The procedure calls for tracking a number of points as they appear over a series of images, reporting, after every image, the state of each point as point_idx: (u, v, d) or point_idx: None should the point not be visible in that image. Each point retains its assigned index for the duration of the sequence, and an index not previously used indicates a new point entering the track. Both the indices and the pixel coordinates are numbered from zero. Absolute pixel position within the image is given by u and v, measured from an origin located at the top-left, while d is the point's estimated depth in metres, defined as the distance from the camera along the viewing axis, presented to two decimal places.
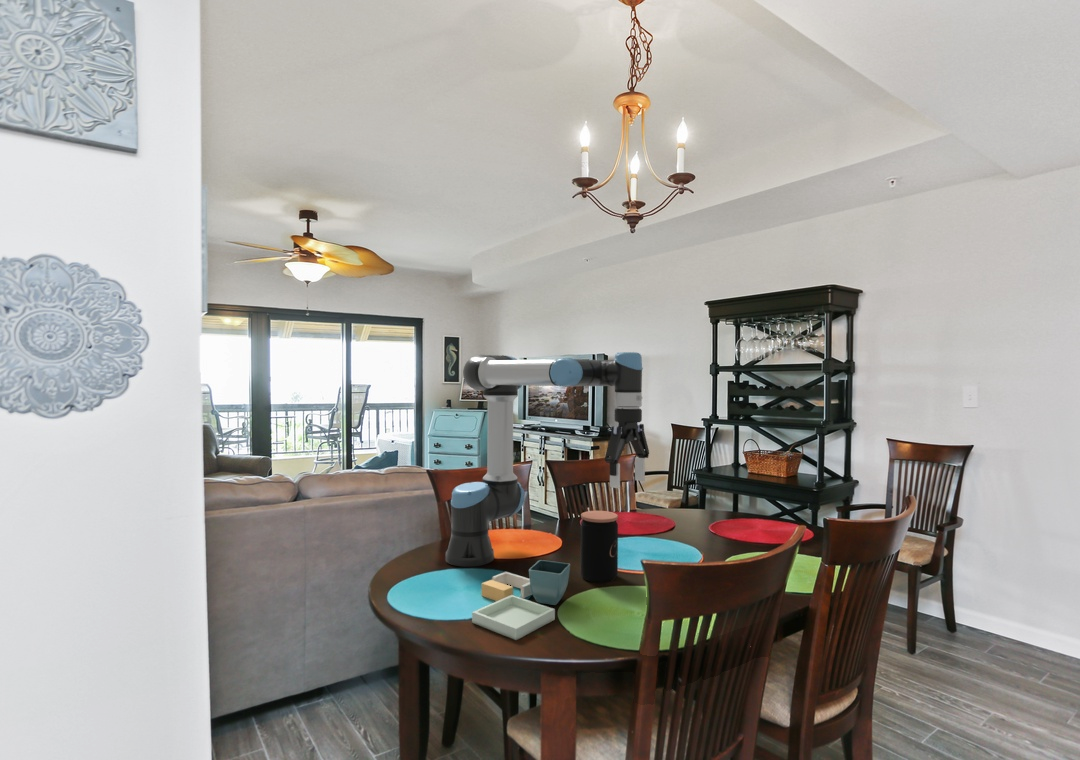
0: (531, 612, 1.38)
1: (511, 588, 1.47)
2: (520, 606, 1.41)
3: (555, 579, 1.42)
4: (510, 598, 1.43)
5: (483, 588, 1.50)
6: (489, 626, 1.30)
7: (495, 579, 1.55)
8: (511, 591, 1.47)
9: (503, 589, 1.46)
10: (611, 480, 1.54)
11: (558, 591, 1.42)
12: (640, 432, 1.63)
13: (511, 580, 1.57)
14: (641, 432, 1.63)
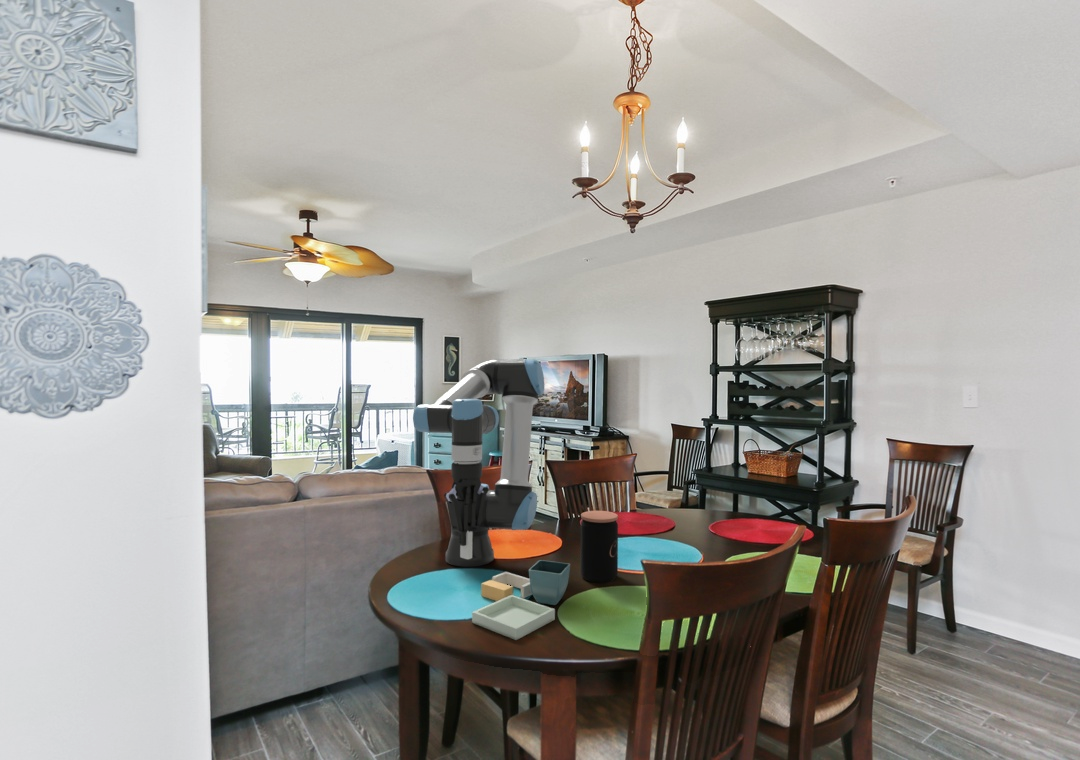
0: (531, 612, 1.38)
1: (511, 588, 1.47)
2: (520, 606, 1.41)
3: (555, 579, 1.42)
4: (510, 598, 1.43)
5: (483, 589, 1.49)
6: (489, 626, 1.30)
7: (495, 579, 1.55)
8: (511, 591, 1.47)
9: (504, 589, 1.46)
10: (461, 550, 1.40)
11: (558, 591, 1.42)
12: (480, 494, 1.43)
13: (511, 580, 1.57)
14: (481, 495, 1.43)
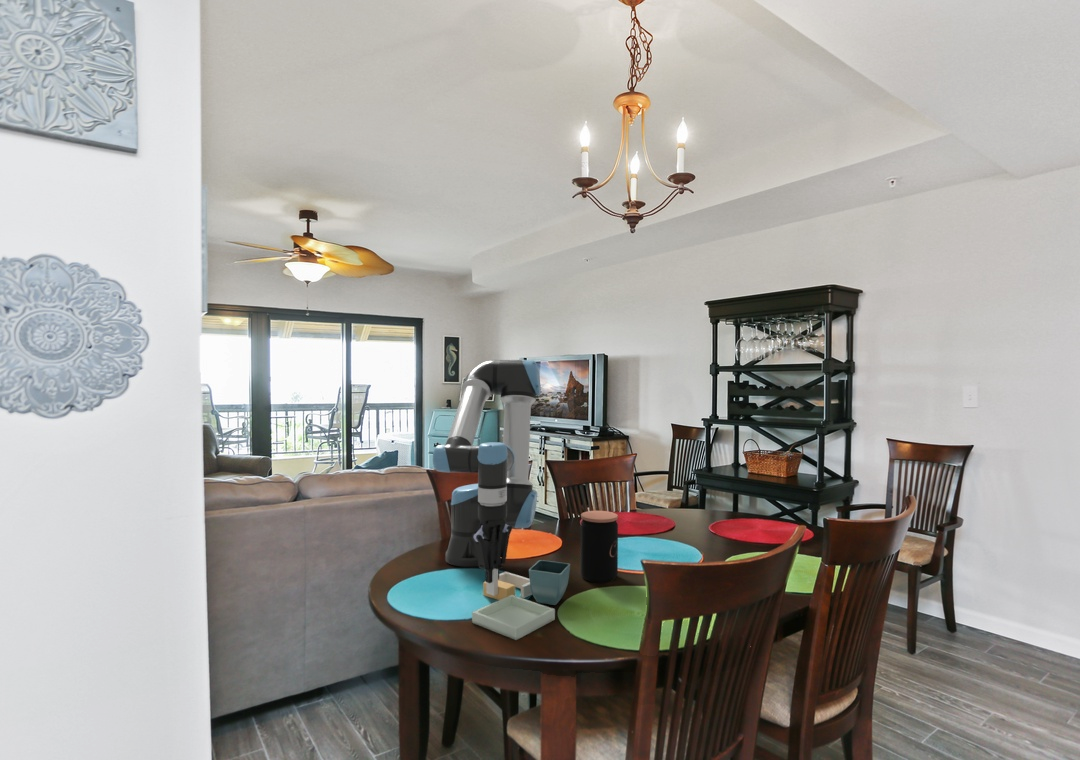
0: (531, 612, 1.38)
1: (513, 586, 1.48)
2: (520, 606, 1.41)
3: (555, 579, 1.42)
4: (510, 598, 1.43)
5: (485, 587, 1.50)
6: (489, 626, 1.30)
7: None
8: (513, 589, 1.48)
9: (506, 588, 1.46)
10: (488, 586, 1.47)
11: (558, 591, 1.42)
12: (505, 533, 1.50)
13: (511, 580, 1.57)
14: (506, 533, 1.50)
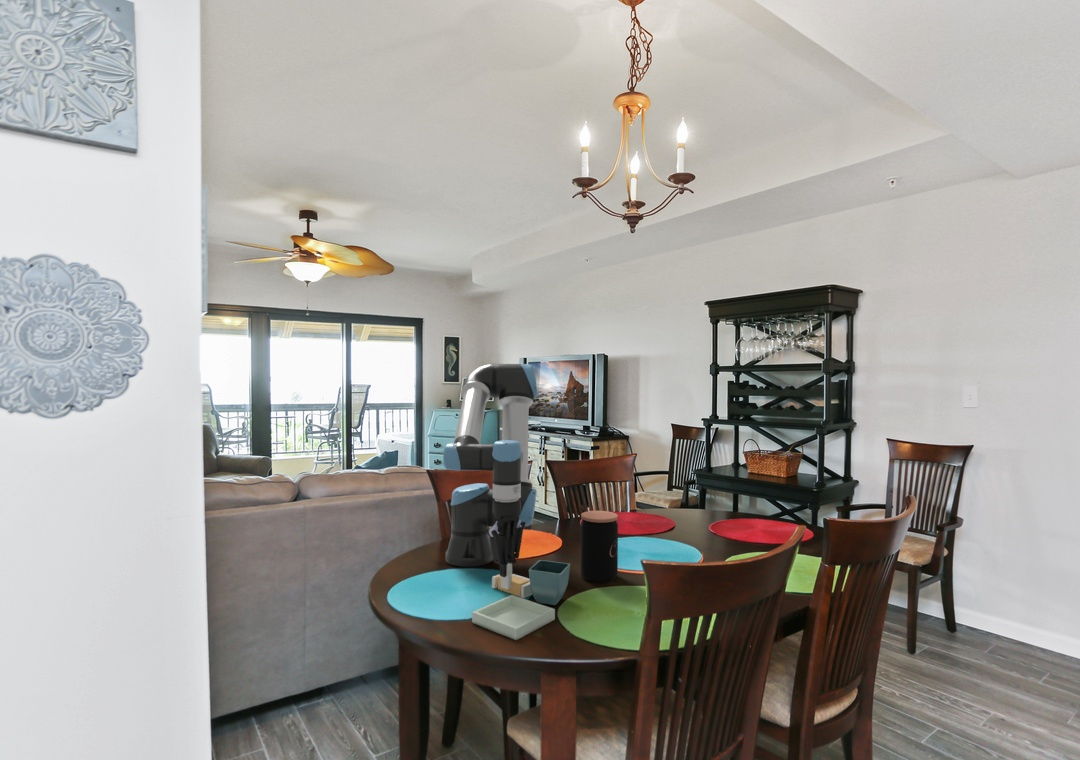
0: (531, 612, 1.38)
1: (527, 582, 1.52)
2: (520, 606, 1.41)
3: (555, 579, 1.42)
4: (510, 598, 1.43)
5: (499, 582, 1.54)
6: (489, 626, 1.30)
7: (495, 579, 1.55)
8: None
9: (519, 583, 1.50)
10: (502, 580, 1.52)
11: (558, 591, 1.42)
12: (518, 529, 1.54)
13: None
14: (519, 529, 1.54)
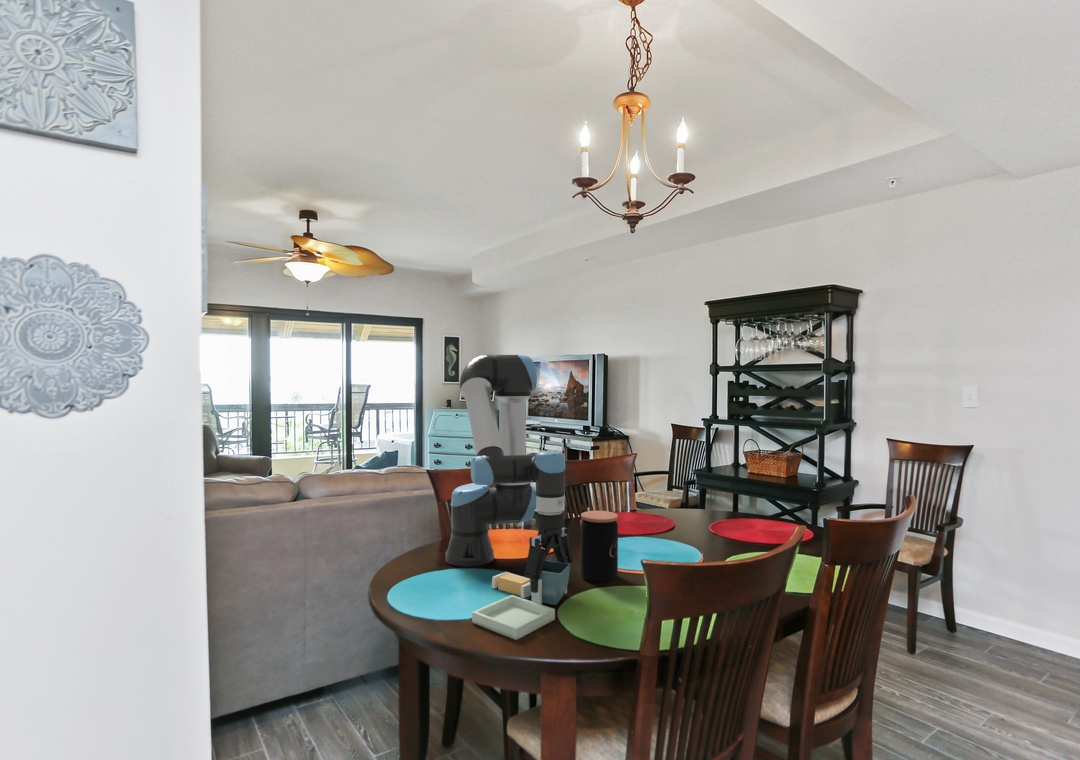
0: (531, 612, 1.38)
1: (528, 581, 1.52)
2: (520, 606, 1.41)
3: (555, 579, 1.42)
4: (510, 598, 1.43)
5: (500, 582, 1.54)
6: (489, 626, 1.30)
7: (495, 579, 1.55)
8: None
9: (521, 582, 1.51)
10: (533, 596, 1.43)
11: (558, 591, 1.42)
12: (564, 537, 1.50)
13: None
14: (565, 537, 1.50)
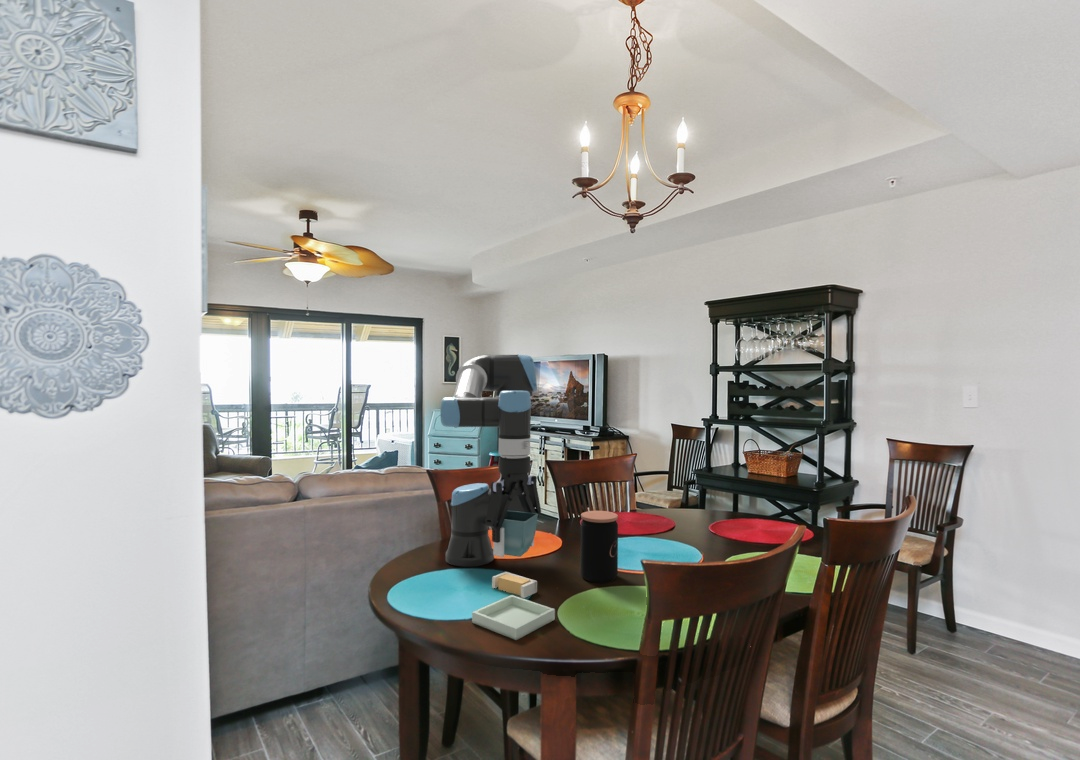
0: (531, 612, 1.38)
1: (528, 581, 1.52)
2: (520, 606, 1.41)
3: (519, 528, 1.29)
4: (510, 598, 1.43)
5: (500, 582, 1.54)
6: (489, 626, 1.30)
7: (495, 579, 1.55)
8: None
9: (522, 582, 1.51)
10: (495, 547, 1.30)
11: (522, 541, 1.30)
12: (531, 485, 1.38)
13: None
14: (532, 485, 1.38)
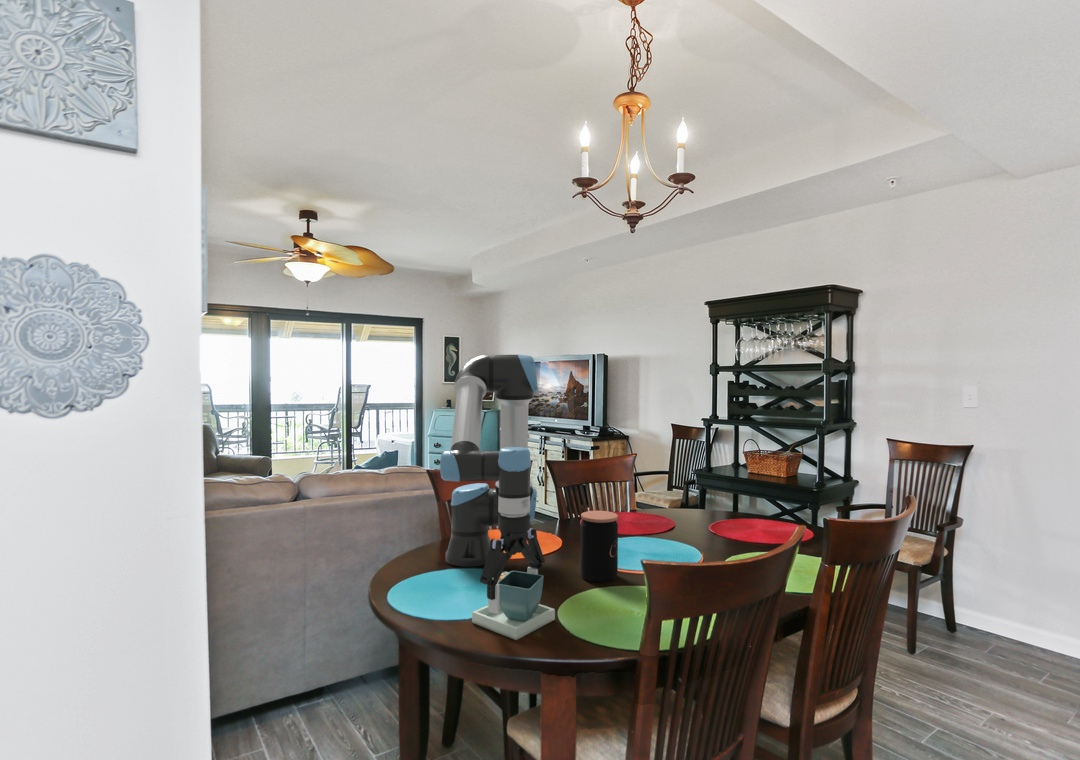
0: None
1: None
2: None
3: (524, 595, 1.30)
4: None
5: None
6: (489, 626, 1.30)
7: None
8: None
9: None
10: (490, 603, 1.29)
11: (527, 607, 1.31)
12: (532, 539, 1.38)
13: None
14: (533, 539, 1.38)
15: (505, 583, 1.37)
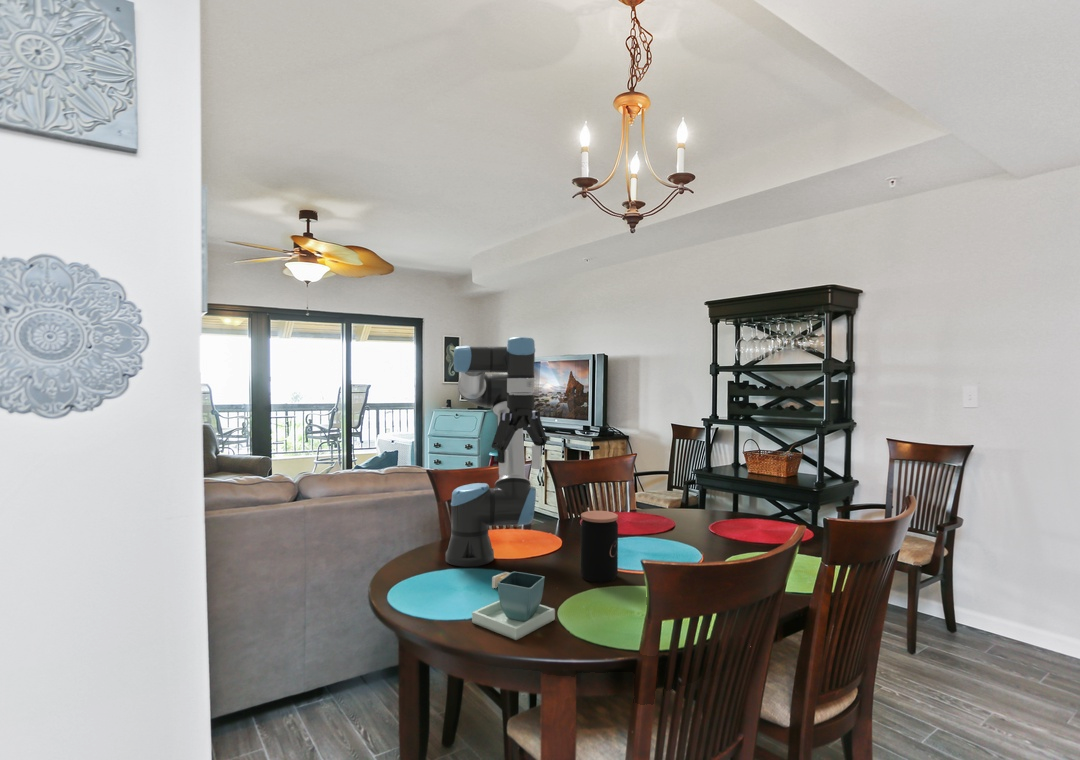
0: None
1: None
2: None
3: (524, 594, 1.31)
4: None
5: None
6: (489, 626, 1.30)
7: (495, 579, 1.55)
8: None
9: None
10: (500, 467, 1.51)
11: (528, 607, 1.31)
12: (536, 419, 1.60)
13: None
14: (537, 419, 1.60)
15: (506, 583, 1.37)
